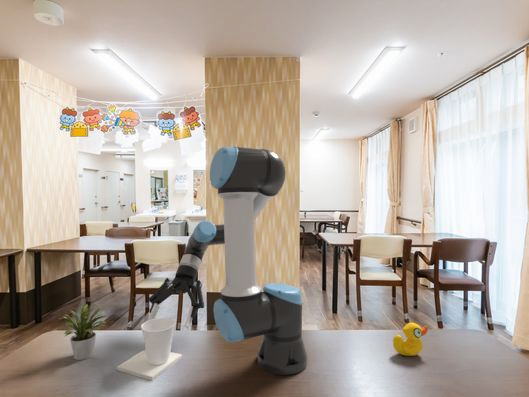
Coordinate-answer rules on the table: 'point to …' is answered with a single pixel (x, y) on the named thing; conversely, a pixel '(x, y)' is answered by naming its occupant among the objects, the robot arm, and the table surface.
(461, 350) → the table surface
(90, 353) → the house plant
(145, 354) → the placemat
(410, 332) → the duckling
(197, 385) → the table surface
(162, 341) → the cup
